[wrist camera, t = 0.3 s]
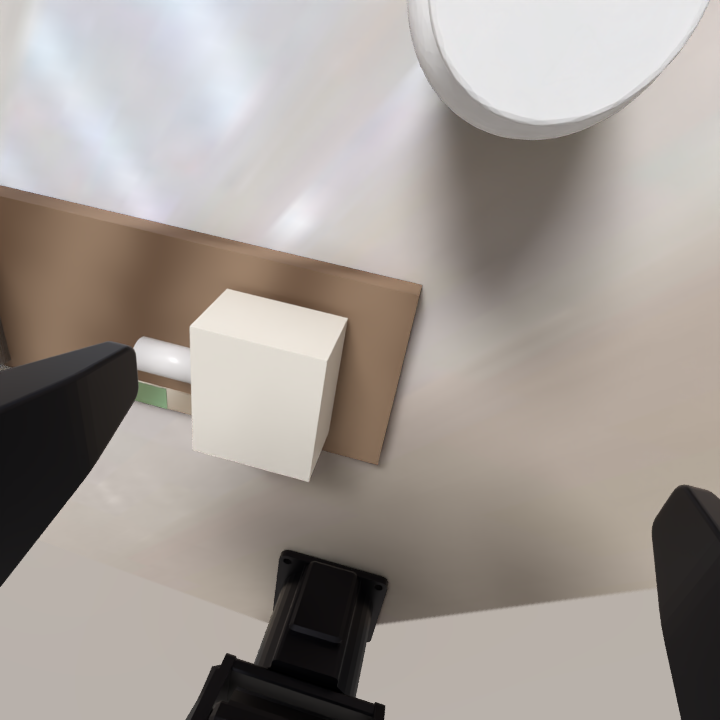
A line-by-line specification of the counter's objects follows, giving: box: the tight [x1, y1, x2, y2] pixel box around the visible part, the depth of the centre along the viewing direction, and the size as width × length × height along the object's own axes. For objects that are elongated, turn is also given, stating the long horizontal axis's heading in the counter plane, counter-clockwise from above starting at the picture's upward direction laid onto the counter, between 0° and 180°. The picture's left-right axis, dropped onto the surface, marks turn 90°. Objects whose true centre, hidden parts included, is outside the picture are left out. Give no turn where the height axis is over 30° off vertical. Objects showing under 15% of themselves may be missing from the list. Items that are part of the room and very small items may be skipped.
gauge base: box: [0, 185, 422, 465], centre depth 24 cm, size 22×9×1 cm, turn 81°
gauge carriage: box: [133, 289, 348, 482], centre depth 22 cm, size 8×8×3 cm
